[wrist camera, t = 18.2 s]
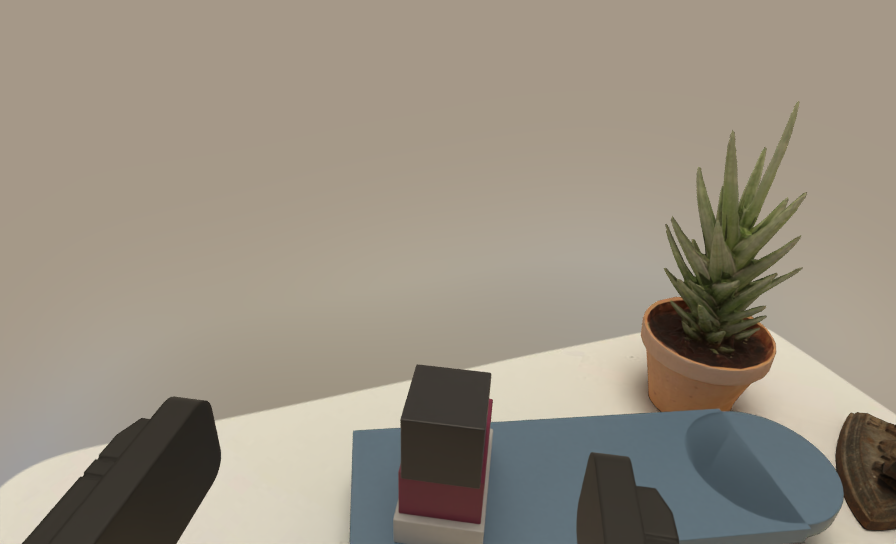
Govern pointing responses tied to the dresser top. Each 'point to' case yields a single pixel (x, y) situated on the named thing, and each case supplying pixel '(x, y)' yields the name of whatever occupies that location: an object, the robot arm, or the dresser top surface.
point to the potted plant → (718, 296)
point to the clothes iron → (868, 469)
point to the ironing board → (654, 465)
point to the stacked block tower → (444, 457)
